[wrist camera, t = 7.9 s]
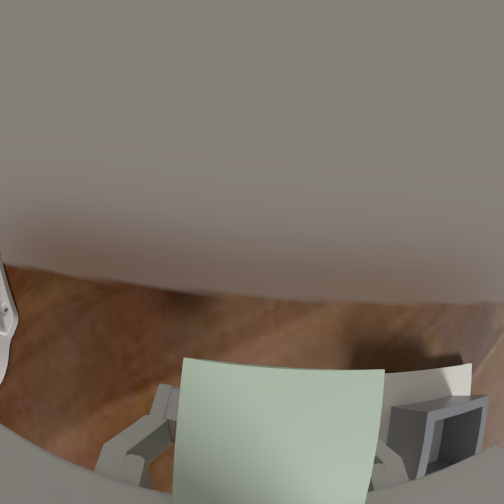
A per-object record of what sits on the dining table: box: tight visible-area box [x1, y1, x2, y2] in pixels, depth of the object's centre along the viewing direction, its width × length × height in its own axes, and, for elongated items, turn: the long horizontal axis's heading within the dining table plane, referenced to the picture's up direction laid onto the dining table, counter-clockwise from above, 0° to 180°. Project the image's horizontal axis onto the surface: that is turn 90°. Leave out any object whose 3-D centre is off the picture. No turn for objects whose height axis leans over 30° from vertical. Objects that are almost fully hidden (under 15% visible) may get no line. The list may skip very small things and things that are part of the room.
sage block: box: [172, 358, 385, 504], centre depth 10 cm, size 4×4×12 cm
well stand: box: [378, 363, 489, 481], centre depth 18 cm, size 16×16×8 cm
